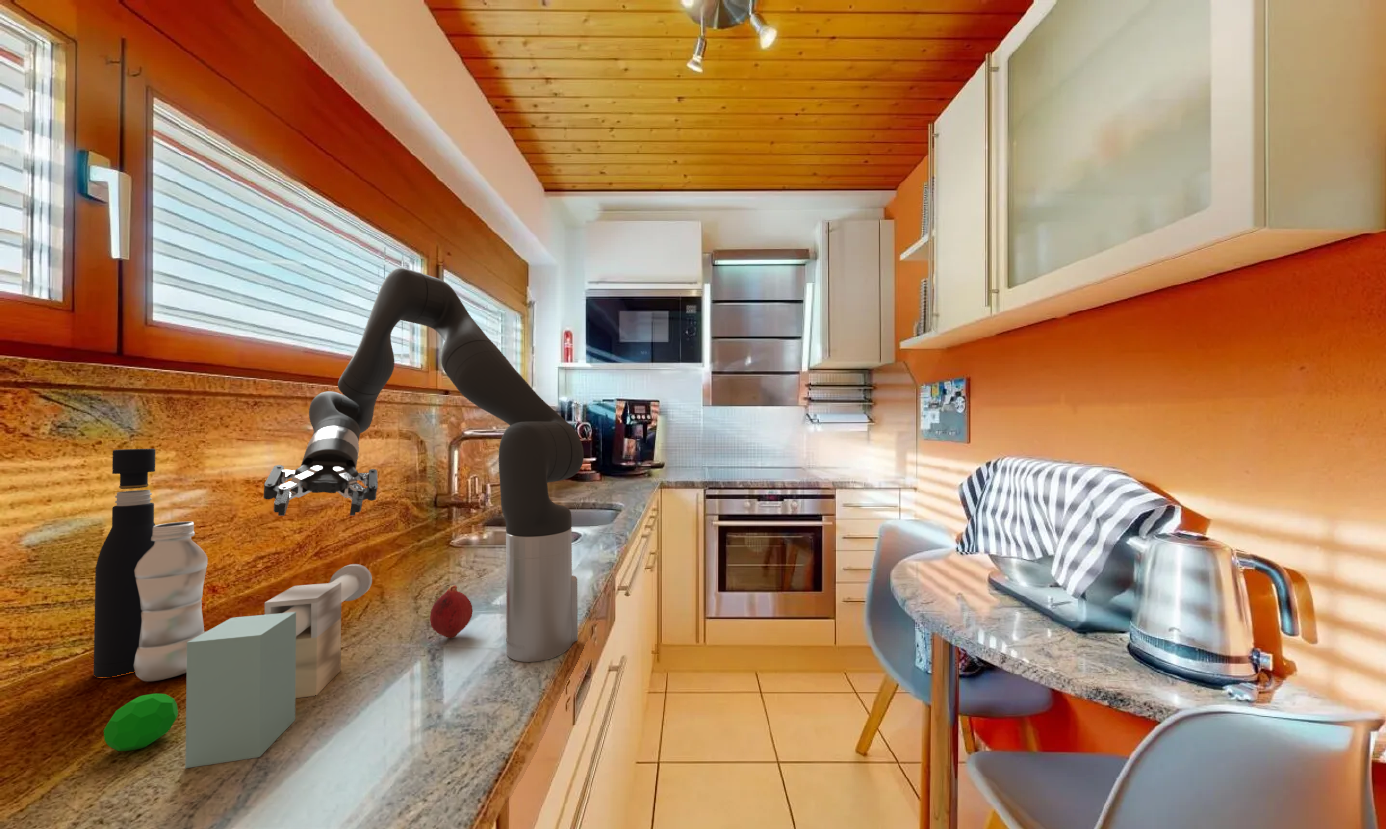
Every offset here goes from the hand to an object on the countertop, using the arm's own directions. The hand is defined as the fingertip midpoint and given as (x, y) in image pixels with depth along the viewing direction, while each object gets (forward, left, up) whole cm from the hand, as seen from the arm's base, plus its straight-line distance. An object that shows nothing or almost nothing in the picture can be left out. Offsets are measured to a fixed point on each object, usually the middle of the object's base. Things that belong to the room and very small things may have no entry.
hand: (318, 511), depth 71 cm
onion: (-13, +14, -20) cm, 28 cm away
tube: (+2, +9, -14) cm, 17 cm away
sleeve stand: (+5, +12, -20) cm, 24 cm away
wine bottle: (+17, -14, -20) cm, 30 cm away
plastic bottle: (+14, -6, -20) cm, 25 cm away
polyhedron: (+18, +12, -20) cm, 30 cm away
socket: (+12, +21, -20) cm, 31 cm away
